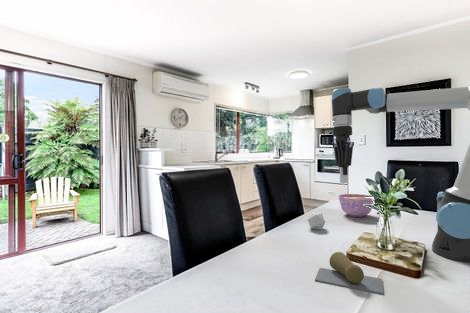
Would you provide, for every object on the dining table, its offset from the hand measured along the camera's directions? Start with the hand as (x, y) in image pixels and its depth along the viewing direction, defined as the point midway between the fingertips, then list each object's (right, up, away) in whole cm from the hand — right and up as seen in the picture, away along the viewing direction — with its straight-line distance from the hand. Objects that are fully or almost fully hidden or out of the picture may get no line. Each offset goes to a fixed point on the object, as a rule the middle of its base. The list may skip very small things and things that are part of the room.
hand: (344, 182), depth 108 cm
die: (-4, -26, +24) cm, 36 cm away
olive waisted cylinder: (-12, -23, -23) cm, 35 cm away
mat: (-11, -26, -30) cm, 42 cm away
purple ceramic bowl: (+28, -25, +50) cm, 63 cm away
